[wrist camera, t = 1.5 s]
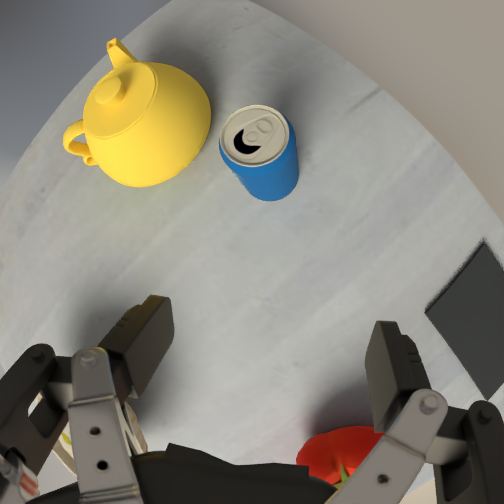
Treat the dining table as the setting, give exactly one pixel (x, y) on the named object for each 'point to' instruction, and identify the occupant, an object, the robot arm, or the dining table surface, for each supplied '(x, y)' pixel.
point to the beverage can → (260, 151)
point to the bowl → (65, 447)
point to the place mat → (475, 320)
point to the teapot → (141, 121)
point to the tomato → (338, 452)
